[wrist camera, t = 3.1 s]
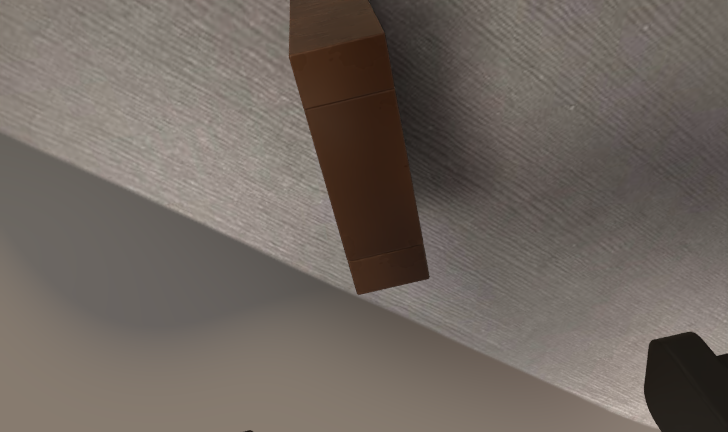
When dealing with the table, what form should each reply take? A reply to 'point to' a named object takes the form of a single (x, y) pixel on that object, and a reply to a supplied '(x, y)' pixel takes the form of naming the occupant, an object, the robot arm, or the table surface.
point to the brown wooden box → (358, 138)
